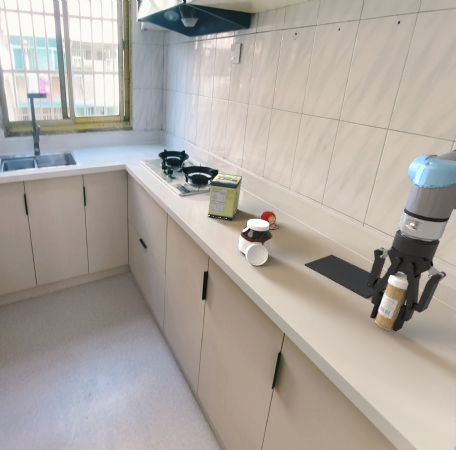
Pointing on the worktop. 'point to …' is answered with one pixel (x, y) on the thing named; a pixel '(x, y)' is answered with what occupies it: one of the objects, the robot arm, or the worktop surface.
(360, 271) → the mat
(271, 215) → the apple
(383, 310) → the spice jar
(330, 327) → the worktop surface
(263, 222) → the spread jar
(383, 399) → the worktop surface
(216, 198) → the protein box
